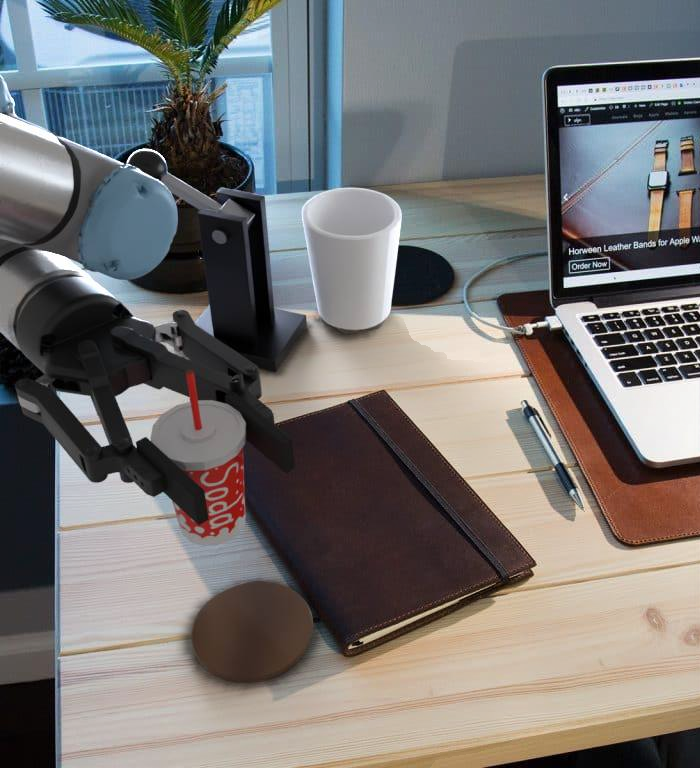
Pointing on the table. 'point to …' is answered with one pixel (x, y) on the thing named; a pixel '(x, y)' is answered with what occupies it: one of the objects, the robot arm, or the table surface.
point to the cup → (352, 255)
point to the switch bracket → (244, 285)
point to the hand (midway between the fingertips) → (246, 481)
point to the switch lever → (182, 185)
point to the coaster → (252, 631)
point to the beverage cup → (207, 462)
